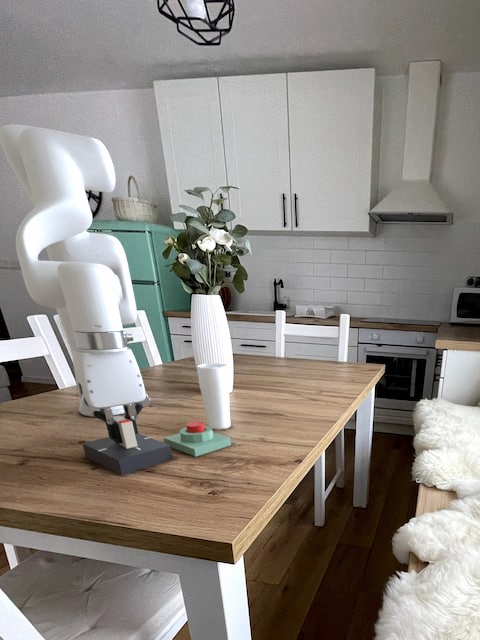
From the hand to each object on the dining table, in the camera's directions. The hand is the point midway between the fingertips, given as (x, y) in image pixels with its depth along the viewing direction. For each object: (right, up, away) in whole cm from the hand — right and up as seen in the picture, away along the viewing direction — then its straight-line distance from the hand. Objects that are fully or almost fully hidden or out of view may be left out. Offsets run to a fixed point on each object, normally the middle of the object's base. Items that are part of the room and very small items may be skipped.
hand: (125, 439), depth 77 cm
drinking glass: (+11, +5, +21) cm, 25 cm away
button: (+11, +2, +8) cm, 14 cm away
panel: (0, -4, +2) cm, 4 cm away
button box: (+11, 0, +9) cm, 14 cm away
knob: (0, -1, 0) cm, 1 cm away
